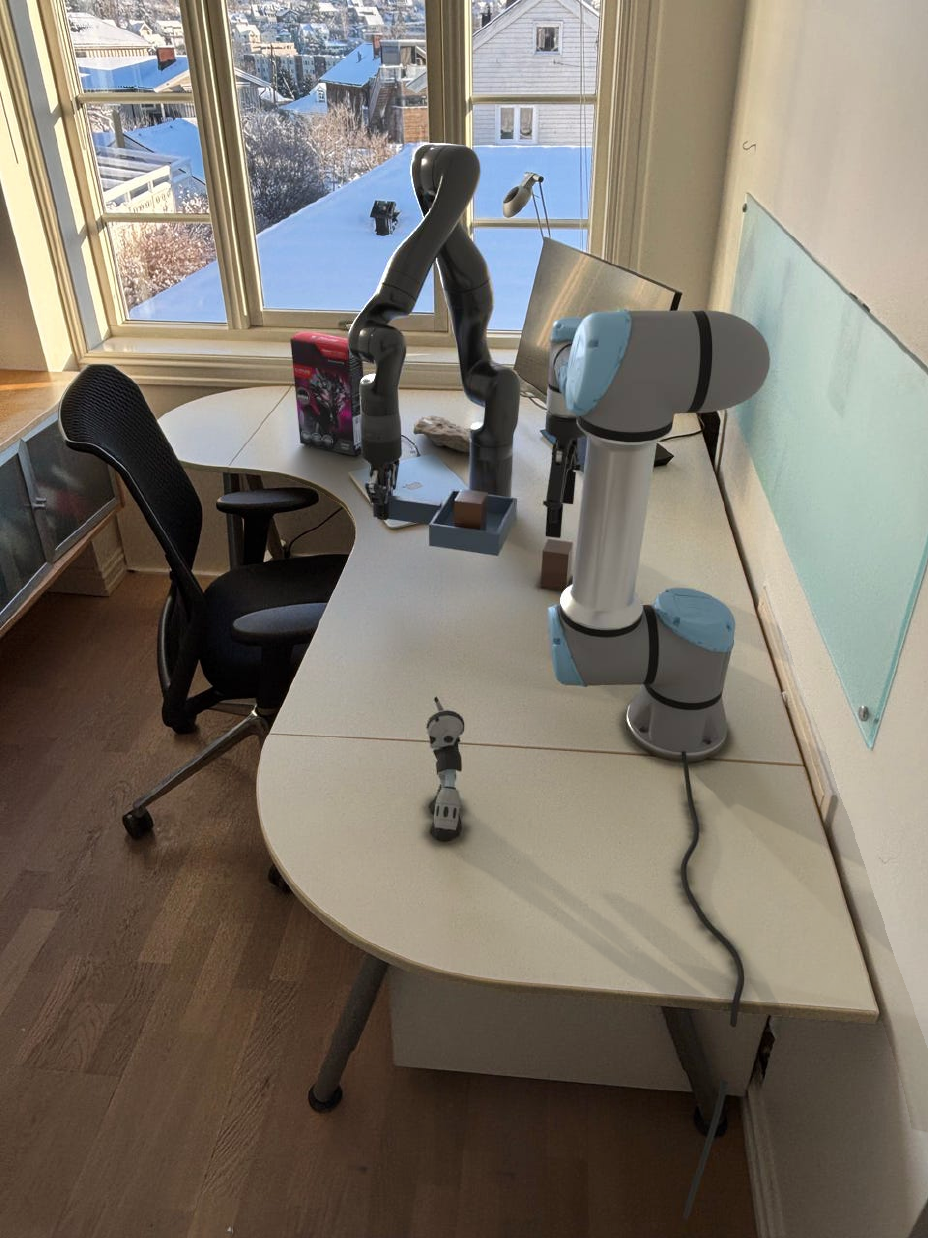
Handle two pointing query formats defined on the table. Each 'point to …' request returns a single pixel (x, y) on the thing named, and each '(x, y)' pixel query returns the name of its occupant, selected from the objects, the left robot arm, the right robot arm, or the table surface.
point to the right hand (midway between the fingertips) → (559, 519)
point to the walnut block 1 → (470, 510)
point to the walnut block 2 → (556, 564)
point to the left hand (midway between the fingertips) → (384, 516)
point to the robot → (446, 772)
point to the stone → (444, 432)
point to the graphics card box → (327, 392)
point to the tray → (442, 522)
